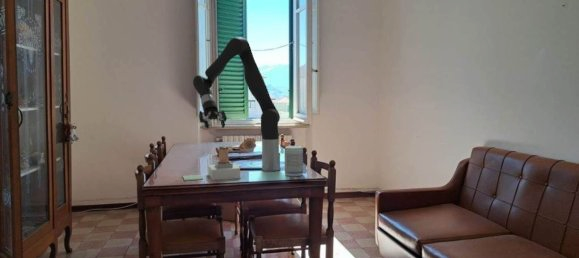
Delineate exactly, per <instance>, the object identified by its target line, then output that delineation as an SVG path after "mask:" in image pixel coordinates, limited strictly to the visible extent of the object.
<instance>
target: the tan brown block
mask: <svg viewBox="0 0 579 258" xmlns="http://www.w3.org/2000/svg"><path fill="white" fill-rule="evenodd" d="M228 161H229V146H226V145H225V146H219V147H218V162H219V164H228Z"/></svg>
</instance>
